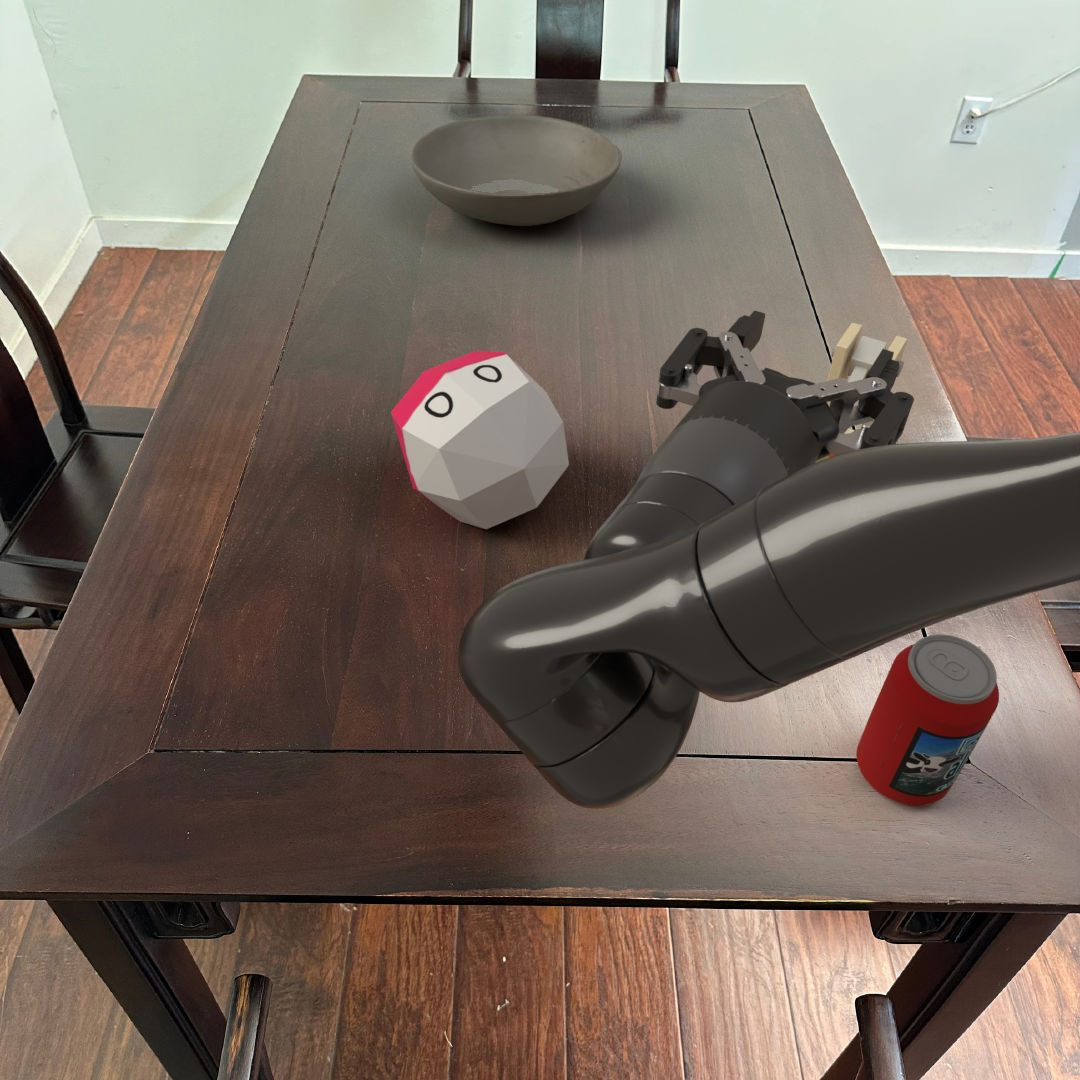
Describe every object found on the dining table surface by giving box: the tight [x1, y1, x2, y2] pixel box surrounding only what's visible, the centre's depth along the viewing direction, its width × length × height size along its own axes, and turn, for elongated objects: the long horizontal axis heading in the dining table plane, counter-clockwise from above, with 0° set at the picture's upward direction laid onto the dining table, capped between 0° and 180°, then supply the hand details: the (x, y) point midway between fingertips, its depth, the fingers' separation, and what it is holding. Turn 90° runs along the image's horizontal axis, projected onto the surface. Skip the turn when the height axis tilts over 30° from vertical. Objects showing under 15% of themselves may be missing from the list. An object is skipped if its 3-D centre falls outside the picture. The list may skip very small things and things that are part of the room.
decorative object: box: [390, 350, 570, 530], centre depth 86 cm, size 15×15×15 cm
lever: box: [828, 335, 888, 457], centre depth 83 cm, size 12×6×2 cm, turn 149°
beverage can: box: [856, 633, 1000, 807], centre depth 65 cm, size 7×7×12 cm
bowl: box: [410, 114, 623, 227], centre depth 131 cm, size 27×28×8 cm
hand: (819, 342), depth 63 cm, fingers open, 8 cm apart
